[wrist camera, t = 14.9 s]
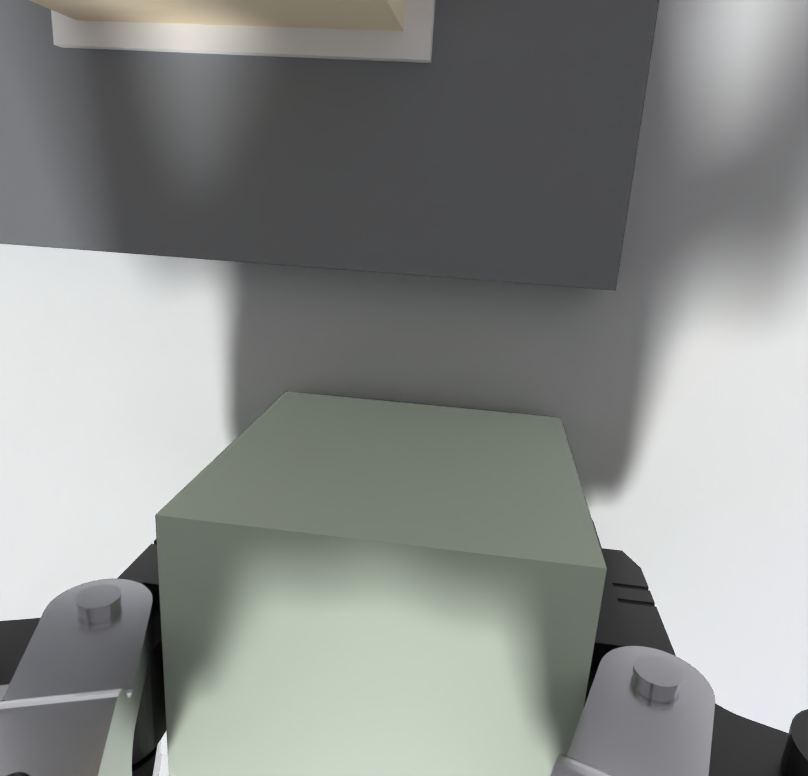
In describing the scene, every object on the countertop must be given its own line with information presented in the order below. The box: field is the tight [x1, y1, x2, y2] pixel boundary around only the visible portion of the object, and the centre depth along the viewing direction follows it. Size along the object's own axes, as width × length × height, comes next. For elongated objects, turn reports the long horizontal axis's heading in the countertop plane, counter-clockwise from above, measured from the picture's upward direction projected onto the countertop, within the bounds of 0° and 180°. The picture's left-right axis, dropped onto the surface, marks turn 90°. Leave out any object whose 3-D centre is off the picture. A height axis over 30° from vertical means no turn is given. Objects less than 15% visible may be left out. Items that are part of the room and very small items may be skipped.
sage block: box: [155, 391, 607, 776], centre depth 10 cm, size 5×5×5 cm
